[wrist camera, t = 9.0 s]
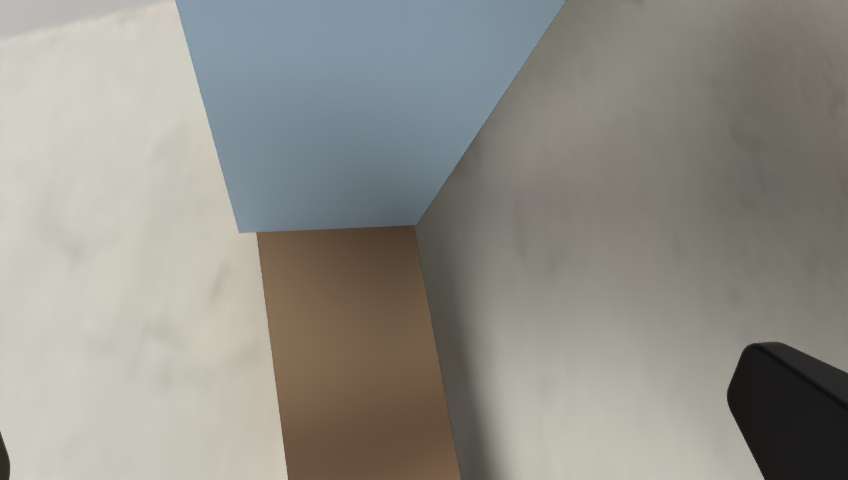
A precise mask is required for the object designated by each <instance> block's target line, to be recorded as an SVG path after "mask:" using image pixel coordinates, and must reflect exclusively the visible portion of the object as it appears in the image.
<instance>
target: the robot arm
mask: <svg viewBox="0 0 848 480" xmlns="http://www.w3.org/2000/svg"><path fill="white" fill-rule="evenodd" d="M727 402H728V405H729V408H730V411H731V413H732V415H733V417H734V419H735V421H736V423H737V425H738V427H739V429H740V431H741V433H742V435H743V437H744V439H745V441H746V443H747V445H748V447H749V449H750V451H751V453H752V455H753V457H754V459H755V461H756V463H757V465H758V467H759V469H760V471H761V473H762V475H763V477H764V479H765V480H848V373H846V372H844V371H842V370H840V369H838V368H835V367H833V366H831V365H829V364H827V363H825V362H822V361H820V360H818V359H816V358H814V357H812V356H809V355H807V354H805V353H803V352H801V351H799V350H797V349H794V348H792V347H790V346H788V345H786V344H783V343H780V342H762V343H753V344H750V345H748V346H747V347H746V348H745V349H744V350H743V352H742V354H741V356H740V359H739V361H738V364H737V367H736V369H735V372H734V374H733V377H732V379H731V382H730V384H729V387H728V390H727ZM9 477H10V460H9V456H8V453H7V450H6V447H5V444H4V441H3V438H2V435H1V432H0V480H9Z"/></svg>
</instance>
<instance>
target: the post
mask: <svg viewBox="0 0 848 480" xmlns="http://www.w3.org/2000/svg"><path fill="white" fill-rule="evenodd" d="M175 1H176V5H177V8H178V12H179V16H180V19H181V23H182V26H183V30H184V34H185V37H186V41H187V45H188V48H189V52H190V56H191V59H192V63H193V66H194V70H195V74H196V77H197V81H198V85H199V88H200V92H201V96H202V99H203V103H204V107H205V110H206V114H207V117H208V121H209V125H210V128H211V132H212V136H213V139H214V143H215V147H216V150H217V154H218V158H219V161H220V165H221V168H222V172H223V176H224V179H225V183H226V187H227V190H228V194H229V198H230V201H231V205H232V209H233V212H234V216H235V219H236V223H237V227H238V230H239V233H252V232H274V231H297V230H319V229H342V228H364V227H387V226H410V225H417V224H418V222H419V221H420V219H421V218H422V216H423V215H424V213H425V212H426V210H427V209H428V207H429V206H430V204H431V203H432V201H433V200H434V198H435V196H436V195H437V193H438V192H439V190H440V189H441V187H442V186H443V184H444V183H445V181H446V180H447V178H448V177H449V175H450V174H451V172H452V171H453V169H454V168H455V166H456V165H457V163H458V162H459V160H460V159H461V157H462V156H463V154H464V153H465V151H466V150H467V148H468V147H469V145H470V144H471V142H472V141H473V139H474V138H475V136H476V135H477V133H478V132H479V130H480V129H481V127H482V126H483V124H484V123H485V121H486V120H487V118H488V117H489V115H490V114H491V112H492V111H493V109H494V108H495V106H496V105H497V103H498V102H499V100H500V99H501V97H502V96H503V94H504V93H505V91H506V90H507V88H508V87H509V85H510V84H511V82H512V81H513V79H514V78H515V76H516V75H517V73H518V72H519V70H520V69H521V67H522V66H523V64H524V63H525V61H526V60H527V58H528V57H529V55H530V54H531V52H532V51H533V49H534V48H535V46H536V45H537V43H538V42H539V40H540V39H541V37H542V36H543V34H544V33H545V31H546V30H547V28H548V27H549V25H550V24H551V22H552V21H553V19H554V18H555V16H556V15H557V13H558V12H559V10H560V9H561V7H562V6H563V4H564V3H565V1H566V0H175Z"/></svg>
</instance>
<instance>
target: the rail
mask: <svg viewBox="0 0 848 480" xmlns="http://www.w3.org/2000/svg"><path fill="white" fill-rule="evenodd" d="M256 233H257V241H258V249H259V256H260V264H261V272H262V280H263V287H264V295H265V303H266V311H267V318H268V326H269V334H270V342H271V350H272V357H273V365H274V373H275V381H276V388H277V396H278V404H279V412H280V420H281V427H282V435H283V443H284V451H285V458H286V466H287V474H288V480H461V477H460V472H459V466H458V461H457V456H456V450H455V445H454V439H453V434H452V429H451V423H450V418H449V413H448V407H447V402H446V396H445V391H444V386H443V380H442V375H441V370H440V364H439V359H438V353H437V348H436V343H435V337H434V332H433V327H432V321H431V316H430V310H429V305H428V300H427V294H426V289H425V284H424V278H423V273H422V267H421V262H420V257H419V251H418V246H417V241H416V235H415V230H414V225H410V226H387V227H364V228H342V229H319V230H297V231H274V232H256Z"/></svg>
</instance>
